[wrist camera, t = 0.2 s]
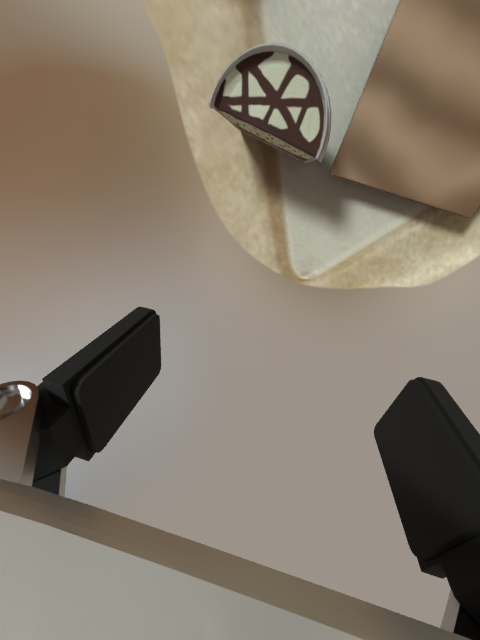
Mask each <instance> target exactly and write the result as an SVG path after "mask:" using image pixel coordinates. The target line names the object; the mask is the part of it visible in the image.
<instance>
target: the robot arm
mask: <svg viewBox="0 0 480 640" xmlns="http://www.w3.org/2000/svg"><path fill="white" fill-rule="evenodd" d="M160 370H161V347H160V318H159V315H157V314H156V312H155V311H154V310H152V309H148V308H143V307H138V308H136V309H135V310H133V311H132V312H131V313H129V314H128V315H127V316H126V317H124V318H123V319H122V320H120V321H119V322H117V323H116V324H115V325H113V326H112V327H111V328H109V329H108V330H107V331H105V332H104V333H103V334H101V335H100V336H99V337H98V338H96V339H95V340H93V341H92V342H91V343H89V344H88V345H87V346H85V347H84V348H83V349H81V350H80V351H79V352H77V353H76V354H75V355H73V356H72V357H71V358H69V359H68V360H67V361H65V362H64V363H63V364H62V365H60V366H59V367H57V368H56V369H55V370H53V371H52V372H51V373H49V374H48V375H47V376H45V377H44V378H43V382H42V383H41V384H40V385H38V386H36V385H35V384H33V383H31V382H28V381H12V382H7V383H3V384H0V640H480V434H479V433H478V432H477V430H476V429H475V428H474V427H473V425H472V424H471V423H470V421H469V420H468V418H467V417H466V416H465V414H464V413H463V412H462V410H461V409H460V408H459V406H458V405H457V404H456V402H455V401H454V400H453V398H452V397H451V396H450V394H449V393H448V392H447V390H446V389H445V387H444V386H443V385H442V384H441V383H440V382H437V381H434V380H430V379H426V378H422V377H418V378H416V379H414V380H410V381H409V382H408V383H407V385H406V386H405V387H404V389H403V390H402V391H401V393H400V394H399V395H398V397H397V398H396V399H395V400H394V402H393V403H392V405H391V406H390V407H389V409H388V410H387V411H386V412H385V414H384V415H383V416H382V418H381V419H380V420H379V422H378V423H377V424H376V426H375V428H374V436H375V439H376V442H377V446H378V449H379V452H380V455H381V458H382V462H383V465H384V468H385V471H386V474H387V477H388V480H389V484H390V487H391V490H392V493H393V496H394V499H395V503H396V506H397V509H398V512H399V515H400V518H401V522H402V525H403V528H404V531H405V534H406V537H407V541H408V544H409V546H410V549H411V551H412V553H413V554H414V555H415V556H417V559H418V562H419V565H420V568H421V571H422V572H424V573H428V574H430V575H433V576H436V577H440V578H445V577H447V579H448V582H449V585H450V587H451V591H450V594H449V598H448V601H447V605H446V609H445V612H444V616H443V620H442V623H441V627H440V628H438V627H435V626H432V625H429V624H427V623H424V622H421V621H418V620H415V619H413V618H410V617H407V616H404V615H401V614H399V613H396V612H393V611H390V610H388V609H385V608H382V607H379V606H376V605H374V604H371V603H368V602H365V601H362V600H360V599H357V598H354V597H351V596H348V595H346V594H343V593H340V592H337V591H334V590H331V589H328V588H326V587H323V586H320V585H317V584H314V583H312V582H309V581H305V580H303V579H300V578H297V577H295V576H292V575H289V574H286V573H283V572H280V571H278V570H275V569H272V568H269V567H266V566H263V565H260V564H258V563H255V562H252V561H249V560H246V559H243V558H241V557H238V556H235V555H232V554H229V553H226V552H224V551H220V550H218V549H215V548H212V547H209V546H207V545H204V544H201V543H198V542H195V541H192V540H189V539H186V538H183V537H181V536H178V535H175V534H172V533H169V532H166V531H163V530H160V529H157V528H155V527H152V526H149V525H146V524H143V523H140V522H137V521H134V520H131V519H129V518H126V517H123V516H120V515H117V514H114V513H111V512H108V511H106V510H103V509H99V508H97V507H94V506H90V505H88V504H84V503H81V502H78V501H75V500H72V499H69V498H65V483H66V469H67V465H68V464H69V463H70V462H71V460H72V459H73V458H74V457H78V458H81V459H84V460H87V461H89V460H90V459H91V458H92V457H93V455H94V454H95V453H96V452H97V453H98V452H100V451H102V450H103V448H104V447H105V446H106V445H107V443H108V442H109V441H110V439H111V438H112V437H113V435H114V434H115V433H116V431H117V430H118V428H119V427H120V426H121V424H122V423H123V422H124V420H125V419H126V418H127V416H128V415H129V414H130V412H131V411H132V410H133V408H134V407H135V406H136V404H137V403H138V401H139V400H140V399H141V397H142V396H143V395H144V393H145V392H146V391H147V389H148V388H149V387H150V385H151V384H152V383H153V381H154V380H155V378H156V377H157V376H158V374H159V372H160Z"/></svg>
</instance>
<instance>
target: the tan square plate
mask: <svg viewBox="0 0 480 640" xmlns="http://www.w3.org/2000/svg"><path fill="white" fill-rule="evenodd" d="M329 174H332V175H335V176H338V177H341V178H344V179H347V180H350V181H354V182H357V183H360V184H363V185H366V186H369V187H372V188H375V189H379V190H382V191H385V192H388V193H391V194H394V195H397V196H400V197H403V198H407V199H410V200H413V201H416V202H419V203H422V204H425V205H428V206H432V207H435V208H438V209H441V210H444V211H447V212H450V213H453V214H457V215H460V216H463V217H468V218H471V217H472V215H473V214H474V213H475V211H476V210H477V209H478V207H479V206H480V0H400V1H399V4H398V6H397V9H396V11H395V14H394V16H393V18H392V21H391V23H390V26H389V28H388V31H387V33H386V36H385V38H384V40H383V43H382V45H381V48H380V50H379V53H378V55H377V58H376V60H375V63H374V65H373V67H372V70H371V72H370V75H369V77H368V80H367V82H366V85H365V87H364V89H363V92H362V94H361V97H360V99H359V102H358V104H357V107H356V109H355V112H354V114H353V116H352V119H351V121H350V124H349V126H348V129H347V131H346V134H345V136H344V138H343V141H342V143H341V146H340V148H339V151H338V153H337V156H336V158H335V160H334V163H333V165H332V168H331V170H330V173H329Z"/></svg>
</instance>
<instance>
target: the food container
mask: <svg viewBox="0 0 480 640" xmlns="http://www.w3.org/2000/svg"><path fill="white" fill-rule="evenodd" d="M209 106H210V108H212V107H213V108H214V109H215V110H216V111H217V112H218V113H220V114H221V115H222V116H223V117H224V118H226V119H227V120H228V121H229V122H230V123H232V124H233V125H234V126H235V127H236V128H237V129H239V130H240V131H241V132H243V133H245V134H247V135H249V136H251V137H253V138H256V139H258V140H260V141H262V142H264V143H266V144H268V145H270V146H272V147H274V148H276V149H278V150H280V151H282V152H284V153H286V154H288V155H290V156H292V157H294V158H296V159H298V160H300V161H302V162H304V163H307V162H311V161H314V160H318V161H319V162H320V163H321V162H322V159H323V157H324V154H325V152H326V148H327V145H328V141H329V136H330V129H331V107H330V99H329V96H328V92H327V88H326V86H325V83H324V81H323V79H322V76H321V74H320V72H319V71H318V69H317V68H316V66H315V65H314V63H313V62H312V61H311V60H310V59H309V58H308V57H307V56H306V55H305V54H304V53H302V52H301V51H299V50H298V49H296V48H294V47H292V46H289V45H286V44H281V43H265V44H261V45H258V46H255V47H252V48H250V49H248V50H247V51H245V52H243V53H241V54H240V55H239V56H238V57H237V58H236V59H234V60H233V61H232V62H231V63H230V65H229V66H228V67H227V68H226V69H225V70H224V72H223V73H222V75H221V77H220V78H219V80H218V81H217V83H216V86H215V88H214V90H213V92H212V95H211V98H210V101H209Z"/></svg>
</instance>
